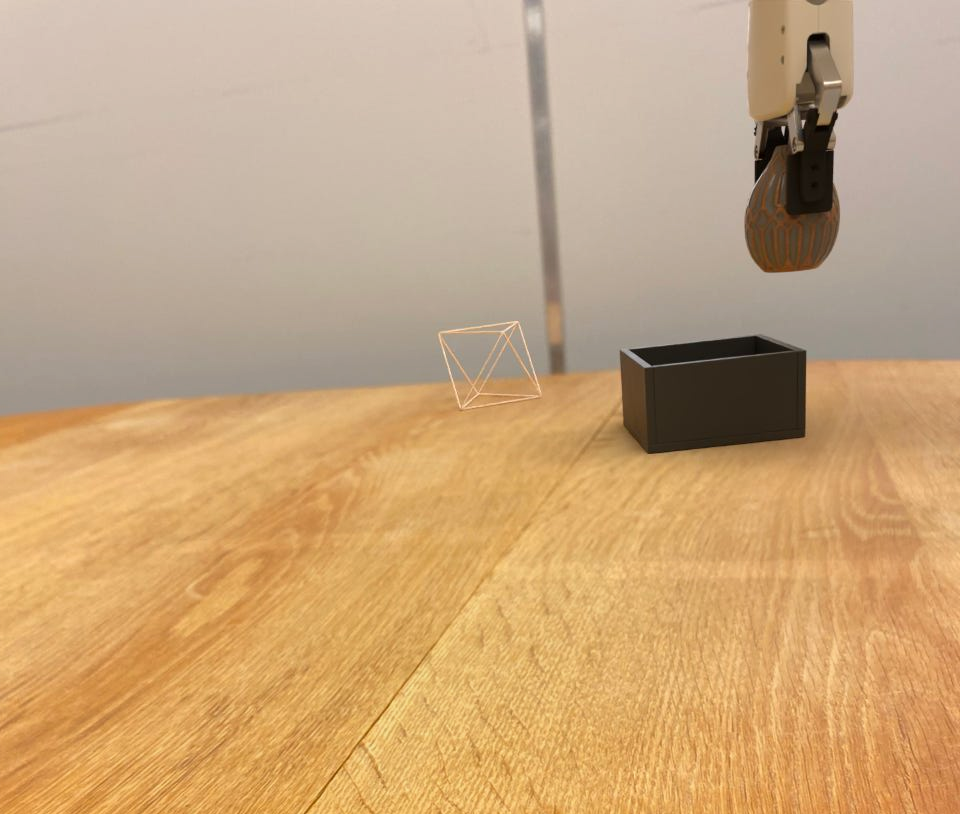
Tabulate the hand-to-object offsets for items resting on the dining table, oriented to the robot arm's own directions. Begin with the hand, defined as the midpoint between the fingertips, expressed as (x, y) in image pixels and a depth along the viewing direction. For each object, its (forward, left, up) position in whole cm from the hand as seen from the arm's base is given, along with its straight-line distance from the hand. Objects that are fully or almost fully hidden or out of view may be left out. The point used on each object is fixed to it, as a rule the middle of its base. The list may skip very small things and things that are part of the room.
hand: (791, 211), depth 80 cm
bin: (+2, -19, -20) cm, 28 cm away
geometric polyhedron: (+22, -51, -20) cm, 59 cm away
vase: (0, 0, -4) cm, 4 cm away
